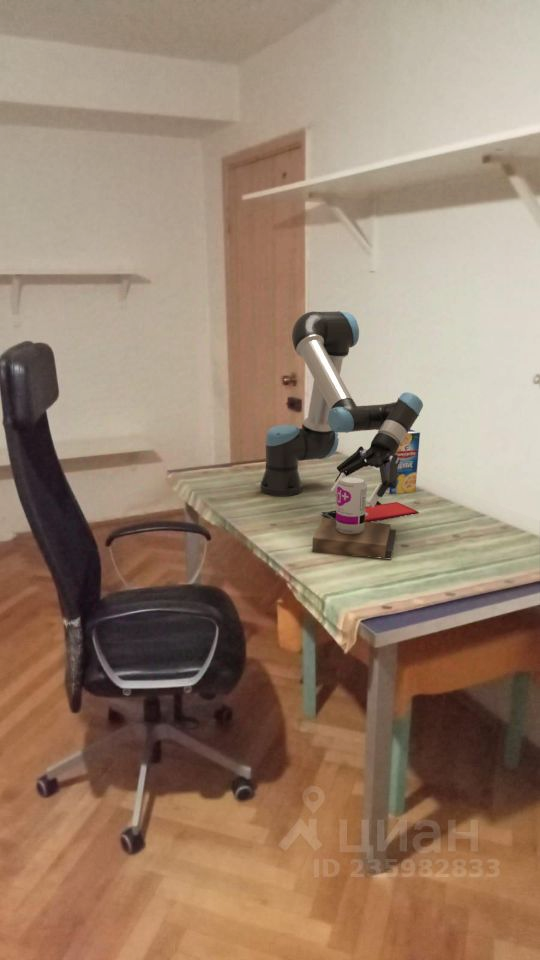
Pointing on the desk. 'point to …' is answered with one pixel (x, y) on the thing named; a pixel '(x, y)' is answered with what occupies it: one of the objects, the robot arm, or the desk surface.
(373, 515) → the red board with handle
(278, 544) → the desk surface
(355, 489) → the supplement can
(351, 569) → the desk surface
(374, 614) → the desk surface
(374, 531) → the brown flat block
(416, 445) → the beverage box
